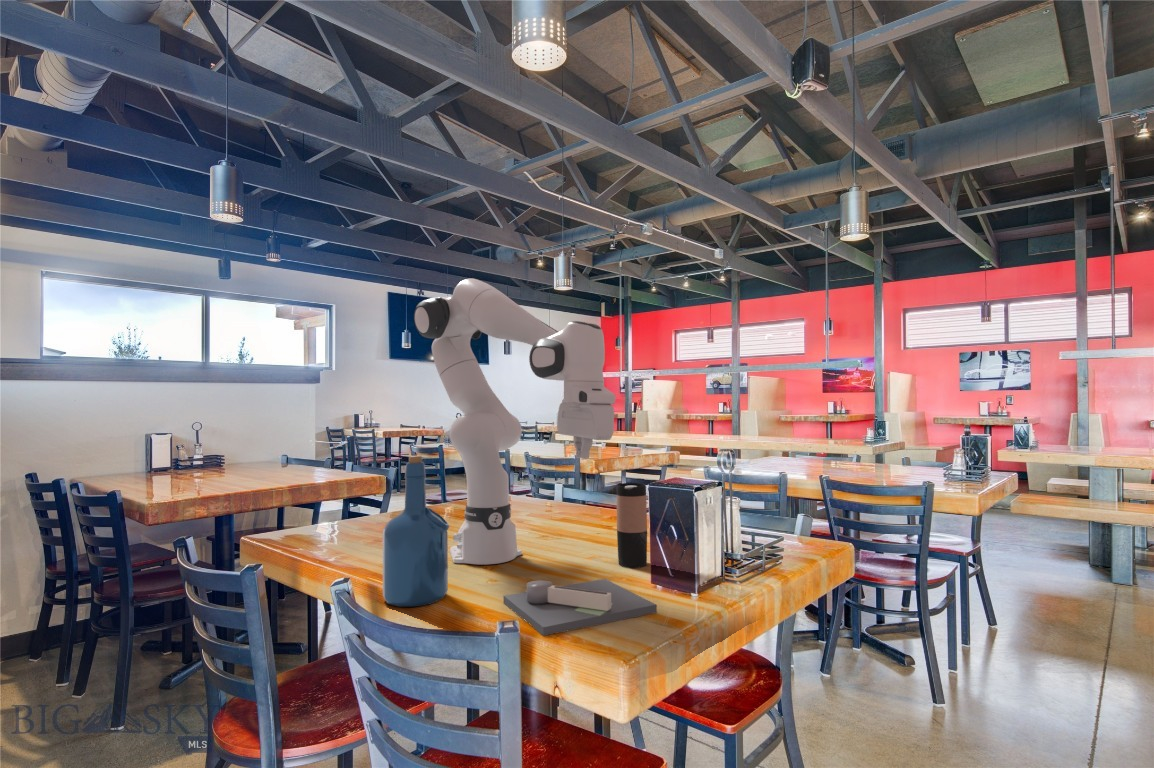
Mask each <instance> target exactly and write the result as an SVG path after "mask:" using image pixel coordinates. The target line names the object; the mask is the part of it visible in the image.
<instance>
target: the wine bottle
mask: <svg viewBox="0 0 1154 768" xmlns="http://www.w3.org/2000/svg"><path fill="white" fill-rule="evenodd" d="M425 467H426V466H425V462H424V461H423V457H422V456H421V455H410V456H409V457H408V462H406V465H405V472H404V479H405V484H404V485H405V486H404V487H405V488H404V489H405V490H404V493H405V494H404V509H403V510H402V512H400V513H399V514H398V515H396V516H394V517H392V518H391V519H389V520H388V522H387V523H386V524H385V525H384V527H383V531H382V596H383V598H384V600H385V602H386V604H387V605H391V606H395V607H400V608H401V607H409V608H410V607H411V608H412V607H413V608H415V607H419V606H421V607H422V606H426V605H431V604H433V603H436V602H438V601H441V600H442V599H444V597H445V596H446V595H447V593H448V591H449V587H448V586H449V584H448V583H449V580H448V578H449V577H448V576H449V575H448V573H449V571H448V570H449V569H448V568H449V565H448V562H449V561H448V553H449V552H448V545H449V544H448V543H449V542H448V540H449V539H448V530H449V529H450V525H449V523H448V522H447V520H445V518H443V516H442V515H440V514H439V513H438V512H436V511H434V510H433V509H431V507H429V506H427V496H426V478H427V475H426V468H425Z"/></svg>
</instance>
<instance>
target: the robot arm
mask: <svg viewBox="0 0 1154 768" xmlns="http://www.w3.org/2000/svg"><path fill="white" fill-rule="evenodd" d="M413 322H414V325H415V329H416V330H417V332H419V335H421V337H424V338H426V339H434V340H433V341H432V344H431V353H432V357H433V361H434V365H435V367H436V370H437V371H436V372H437V373H438V375H439V378H440V380H441V382H442V384H443V387H444V390H445V391H446V395H447V396H448V398H449V400H450V402H451V403H452V405H453V406H455V407H456V408H457V409H459V410H460V411H461V412H462V413H463V415H460V416H459V417H457V418H456V419H454V421H453V423H452V424H451V425H450V429H449V440H450V443H451V444H452V445H451V446H453V448H454V449H455V450H456V451H457V452H458V453H459V455H460V458H461V461H462V463H463V467H464V472H465V476H466V478H465V479H466V499H467V500H466V503H467V504H466V505H465V509H464V521H463V523H462V525H461V526H460V528H458V531H457V533H453V535H452V539H453V543H457V545H453V546H450V547H449V553H450V555H451V559H452V561H453V562H452V563H453V564H469V565H480V566H481V565H496V564H502V563H507V562H509V561H512V560H515V558H516V557H518V556H521V555H522V554H523V550H522V549H519V548H518V543H517V527H516V524H515V522H513V521H512V520H511V519H510V518H511V517H512V513H511V512H512V508H511V504H510V497H509V496H510V490H509V489H510V488H509V487H510V486H509V483H510V482H509V478H510V477H509V474H508V472H507V471H506V470H505V468H504V466H503V464H502V461H501V458H500V452H503V451H506V450H509V449H510V448H512V447H514V446H515V445H516V444H518V442H519V441H520V439H521V437H522V432H523V430H522V424H521V422H520V421H519V419H518V418H517V417H516V416H515V415H513V414H512V413H511V412H510V411H509V410H508V409H507V408H506V406H505V405H504V404H503V403H502V402H501V400H500V399H499V397H498V396H497V395H496V392H495V391H494V390H493V389H492V388H491V386H490V385H489V383H488V381H487V378H486V376H485V375H484V373H483V369H482V368H481V366H480V364H479V362H478V359H477V357H476V355H475V354H474V352H473V350H472V347H471V339H473V340H478V339H480V338H481V335H482V333H483V334H485V335H487V336H489V337H492V338H495V339H499V340H507V341H513V342H517V343H518V342H519V343H524V344H528V345H530V346H532V347H531V349H530V352H529V355H528V356H529V357H528V362H529V366H530V368H531V371H532V373H533V374H534V375H535V376H536V377H538V378H541V379H543V380H550V381H551V380H553V381H563V399H562V401H561V403H560V404H559V406H558V411H557V424H556V425H557V426H556V430H557V432H558V434H559V435H563V436H570V437H573V444H574V447H575V457H576V458H578V459H583V460H588V459H590V450H591V447H592V446H593V440H595V441H609V440H612V437H613V435H614V429H615V427H614V426H615V410H614V406H613V405H614V404H615V403H616V395H615V393H614V392H612V391H611V390H609V389H608V388H607V387H605V377H604V372H603V369H604V365H605V359H606V358H605V356H606V354H605V353H606V351H605V350H606V349H605V345H606V344H605V337H604V335H605V334H604V331H603V329H602V327H601V326H599V325H598V324H596V323H590V322H585V321H579V320H572V321H569V322H568V323H567V324H566V325H565V326H564V328H562V329H560V331H558V330H556V329H555V328H553V326H550V325H548V324H547V323H545V322H544V321H542V320H540V319H538V318H537V317H535V316H534V315H533V314H532V313H530V312H529V311H528V310H525V309H524V308H523V307H521V305H519V304H518V303H516V302H515V301H513V300H512V299H511V298H510V297H508V296H507V295H506V294H505V293H503V292H502V291H501V290H498V289H497V288H496V287H494V286H492V285H491V284H490V283H487V282H484V281H482V280H479V279H477V278H473V277H472V278H470V277H469V278H466V279H463V280H461V281H460V282H459V283H457V284H456V286H455V287H454V288H453V293H452V294H450V295H447V296H438V297H431V298H428V299H424V300H422V301H420V302H419V303H418V304H417V305H416V307H415V309H414V313H413Z"/></svg>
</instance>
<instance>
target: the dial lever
mask: <svg viewBox="0 0 1154 768" xmlns="http://www.w3.org/2000/svg"><path fill="white" fill-rule="evenodd" d="M562 586H563V585H554V584H553V583H552V582H551V581H549V580H543V579H542V580H541V579H539V580H531V581H529V582H527V583H526V592H527V601H528V602H530V603H537V604H539V603H547V602H550V603H556V604H563V605H570V606H577V607H584V608H591V609H597V610H604V611H608V610H610V609H611V593H608V592H600V591H592V590H585V589H577V588H570V587H562Z"/></svg>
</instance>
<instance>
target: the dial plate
mask: <svg viewBox="0 0 1154 768" xmlns="http://www.w3.org/2000/svg"><path fill="white" fill-rule="evenodd" d="M561 586H562V587H570V588H577V589H585V590H592V591H600V592H608V593H611V609H610V610H608V611H604V610H597V609H591V608H584V607H577V606H570V605H563V604H556V603H550V602H547V603H539V604H537V603H530V602H528V601H527V591H524V592H518V593H510V594H505V595H503V602H502V603H503V605H505V606H507V607H508V609H510V610H511V609H512V610H511V611H512V612H513V613H515V612H516V613H517V614H518V615H517V614H516V613H515V614H516V615H517V616H518V617H520V616H521V617H522V618H523V619H525V620H526V621H527V622H528V623H530V624H531V625H532V626H533V627H534V628H535V629H536V631H537V632H538V633H539V634H540V635H541V636H543V637H545V636H550V635H554V634H553V633H555V634H558V633H557V632H560V633H564V632H563V631H565V632H568V631H567V630H570V631H574V630H579V629H583V627H584V628H588V627H594V626H597V625H603V624H607V623H612V622H617V621H622V620H626V619H632V618H638V617H642V616H646V615H647V616H648V615H650V614H651V615H652V614H655V613H657V612H658V611H657V610H658V609H657V608H658V607H657V603H655V602H652V601H650V600H648V599H646V598H644V597H642V596H641V595H638V594H636V593H634V592H632V591H631V590H628V589H627V588H624V587H623V586H620V585H618V584H616V583H615V582H612V581H610V579H609V580H608V579H606V578H600V579H593V580H590V581H589V580H588V581H582V582H577V583H571V584H563V585H561ZM521 617H520V618H521ZM522 618H521V619H522ZM523 619H522V620H523ZM525 620H524V621H525ZM526 621H525V622H526ZM527 622H526V623H527ZM528 623H527V624H528ZM531 625H530V626H531ZM532 626H531V627H532ZM533 627H532V628H533ZM534 628H533V629H534ZM578 628H579V629H578ZM535 629H534V630H535ZM573 629H574V630H573ZM549 634H550V635H549Z"/></svg>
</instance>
